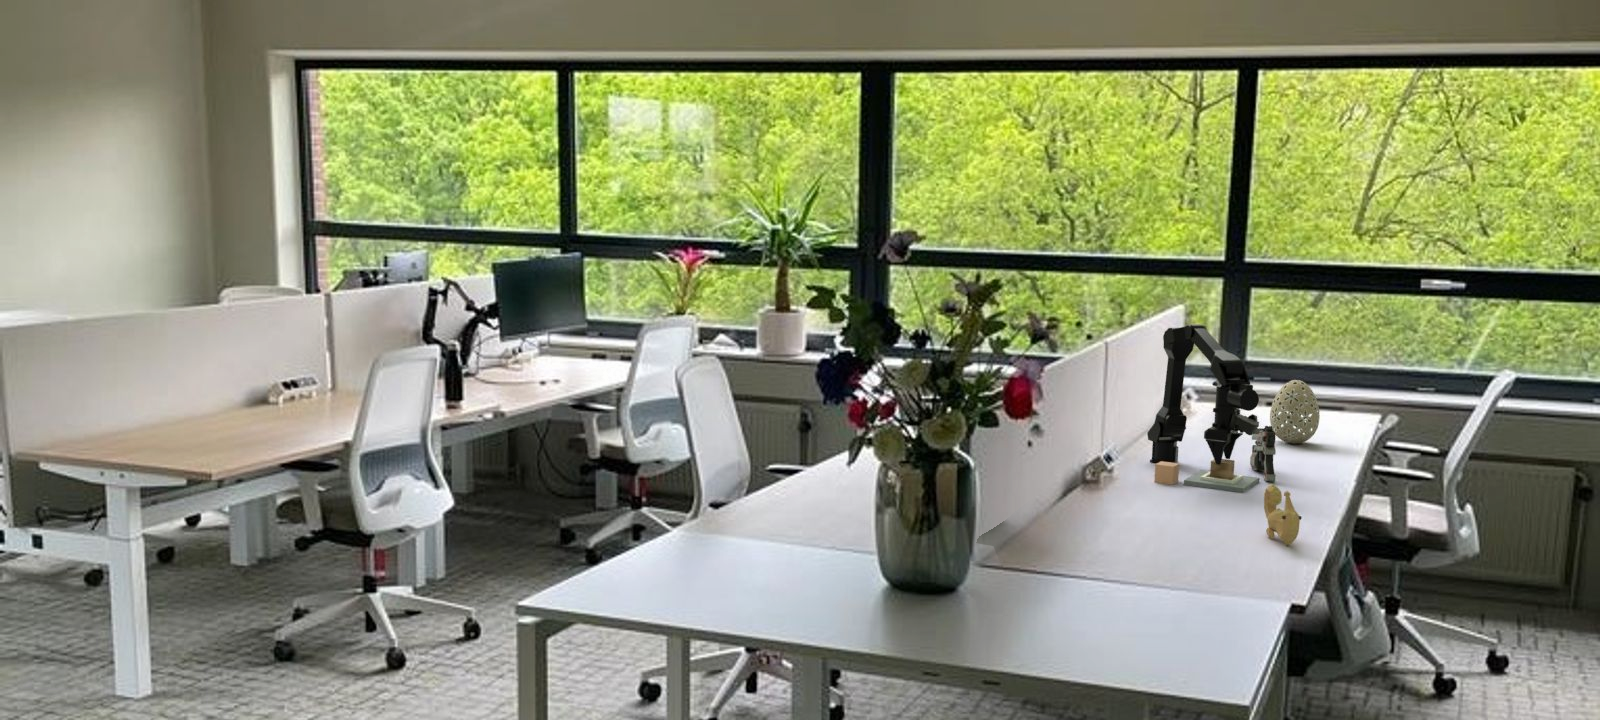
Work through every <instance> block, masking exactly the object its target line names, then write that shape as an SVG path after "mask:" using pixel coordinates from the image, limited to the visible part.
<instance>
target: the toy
mask: <svg viewBox="0 0 1600 720" xmlns="http://www.w3.org/2000/svg"><path fill="white" fill-rule="evenodd" d="M1263 496H1264V497H1263V498H1264V499H1263V506H1264V507H1263V509H1264V513H1265V517H1266V519H1267V528H1266V530H1265V532H1266V535H1267V537H1268V538H1269V539H1271V540H1273V539H1275V537H1276V534H1277V535H1278V537H1279V539H1280V540H1281V541H1282V542H1283V543H1284V545H1286V546H1287V545H1288V546H1291V544H1292V543H1293V542H1294V541H1295V540H1296V539H1297V538H1298V535H1299V530H1300V524H1301V523H1300V522H1301V520H1302V516H1301V515H1299V514H1298V512H1297V511H1296V510H1295V508H1294V505H1293V502H1292V499H1291V497H1290V496H1291V492H1289V491H1288V490H1286V491H1284V493H1283V494H1282V491H1281V490H1280V489H1279V488H1278V486H1276V485H1275V484H1274V483H1271V484H1270V485H1267V487H1266V489H1265V491H1264V495H1263ZM1283 496H1284V497H1285V500H1284V501H1285V503H1284V510H1282V509H1281V508H1280V507H1278V508H1277V506H1278V505H1280V504H1281V503H1282V499H1283Z"/></svg>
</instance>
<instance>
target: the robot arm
mask: <svg viewBox="0 0 1600 720" xmlns="http://www.w3.org/2000/svg"><path fill="white" fill-rule="evenodd" d="M1162 339H1163V349H1164V351H1165V354H1166V356H1167V363H1166V364H1167V365H1166V373H1165V374H1166V375H1165V382H1164V383H1165V384H1164V393H1163V402H1162V407H1160V409H1159V410H1158V412H1157V413H1156V414H1155V419H1154V423H1153V425H1152V426H1151V427H1150V428H1149V430H1148V431H1147V439H1148V441H1151V442H1152V450H1151V451H1152V452H1151V459H1149V463H1150V462H1151V463H1155V464H1157V463H1159V462H1161V461H1163V462H1171V463H1178V461H1179V446H1178V442H1179V443H1180V442H1183V438H1184V435H1185V432H1186V429H1187V419H1188V417H1187V415H1185V414H1184V413H1183V410H1182V409H1181V405H1182V399H1183V398H1182V397H1183V389H1184V379H1185V373H1186V372H1185V371H1186V370H1185V369H1186V363H1187V359H1188V358H1189V356H1190V355H1191V354H1192V352H1193V351H1194V345H1195V346H1196V347H1197V349H1198V350H1199V351H1200V353H1202V355H1203V356H1204V357H1205V358H1206V359H1207V360H1208V362H1209V363H1210V370H1211V373H1212V375H1213V376H1214V377H1215V378H1216V380H1214V381H1213V382H1212V386H1213V387H1216V392H1215V404H1214V405H1215V406H1214V407H1213V409H1212V413H1214V422H1212V423H1211V426H1210V427H1208V428H1207V429H1206V430H1204V432H1203V434H1204V435H1203V439H1204V440H1205V442H1206V443H1207V445H1208V448H1209V450H1210V452H1211V455H1212V457H1213V460H1215V462H1216V464H1218V465H1220V464H1221V461H1222V459H1223V456H1224V459H1227V460H1231V457H1232V454H1233V451H1234V448H1235V444H1236V442H1237V440H1238V439H1239V438H1241V436H1242V435H1244V433H1245V435H1248V436H1252V435H1253V434H1255V432H1256V429H1257V428H1259V426H1260V421H1258V415H1255V414H1253V413H1252V414H1250V415H1248V416H1247V415H1242V414H1241V410H1244V411H1247V412H1252V411H1253V410H1255V409H1256V407H1257V406H1258V404H1259V402H1260V397H1259V394H1258V393H1257V391H1256V390H1255V389H1254V385H1253V384H1251V382H1250V377H1249V375H1248V373H1247V371H1246V367H1245V363H1244V362H1243V361H1242V359H1241V358H1239V357H1238V356H1237V355H1235V354H1233V353H1230V352H1228V351H1226V350H1225V349H1224V348H1223V347H1222V346H1221V345H1220V344H1219V342H1218V341H1217V340H1216V339H1215V338H1214V337H1213V335H1212V334H1210V332H1209V330H1208V329H1207V327H1206V325H1204V324H1202V323H1201V324H1200V323H1197V324H1196V323H1195V324H1191V323H1190V324H1188V325H1185V326H1182V327H1169V328H1167V329H1166V330H1165V331H1164V333H1163V336H1162Z"/></svg>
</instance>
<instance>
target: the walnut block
mask: <svg viewBox="0 0 1600 720" xmlns="http://www.w3.org/2000/svg"><path fill="white" fill-rule="evenodd" d="M1235 462H1236V461H1235V460H1234V459H1226V458H1222V461H1221V464H1220V465H1218V464H1216V462H1215V460H1214V459H1212V460H1211V461H1210V468H1209V469H1210V470H1209V471H1210V477H1212V478H1220V479H1228V480H1232V479H1234V474H1235Z"/></svg>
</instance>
